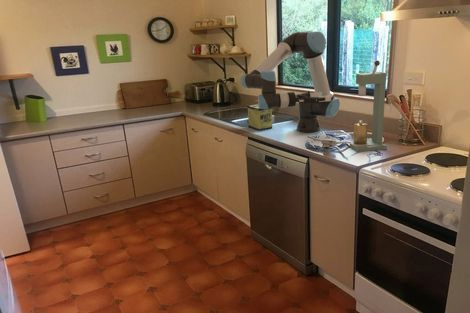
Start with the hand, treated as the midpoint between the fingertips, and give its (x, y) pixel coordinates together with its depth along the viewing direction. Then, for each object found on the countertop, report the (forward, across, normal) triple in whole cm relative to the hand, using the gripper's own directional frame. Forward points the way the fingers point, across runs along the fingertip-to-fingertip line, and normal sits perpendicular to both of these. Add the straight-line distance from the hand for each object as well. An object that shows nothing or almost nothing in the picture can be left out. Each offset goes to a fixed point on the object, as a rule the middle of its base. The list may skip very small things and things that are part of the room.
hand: (326, 96), depth 197 cm
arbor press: (+20, +7, -28) cm, 35 cm away
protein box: (-26, -57, -28) cm, 69 cm away
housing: (+17, +7, -26) cm, 31 cm away
